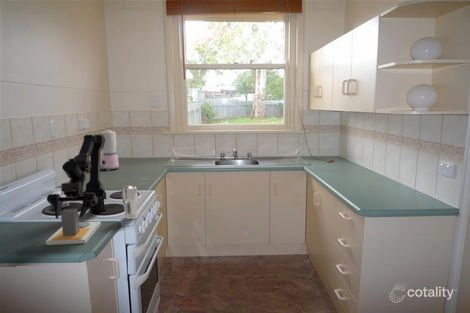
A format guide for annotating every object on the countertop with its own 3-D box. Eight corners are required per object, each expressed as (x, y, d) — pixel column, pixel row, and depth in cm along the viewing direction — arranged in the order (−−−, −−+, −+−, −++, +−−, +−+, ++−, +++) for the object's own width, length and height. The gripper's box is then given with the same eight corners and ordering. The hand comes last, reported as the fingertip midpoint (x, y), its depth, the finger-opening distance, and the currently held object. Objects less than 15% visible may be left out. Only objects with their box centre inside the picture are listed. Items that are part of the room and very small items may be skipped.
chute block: (67, 232, 138) (64, 208, 136) (79, 231, 139) (77, 208, 137) (63, 235, 134) (60, 212, 133) (75, 235, 135) (73, 211, 133)
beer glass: (129, 214, 164) (127, 184, 162) (141, 215, 162) (139, 185, 160) (120, 219, 158) (118, 188, 155) (133, 220, 156) (131, 189, 153)
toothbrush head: (70, 189, 197) (68, 194, 174) (71, 200, 198) (69, 207, 175) (60, 190, 195) (57, 195, 172) (61, 201, 195) (58, 208, 173)
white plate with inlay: (66, 225, 150) (66, 222, 150) (101, 224, 151) (100, 220, 151) (46, 244, 130) (45, 240, 130) (85, 243, 131) (85, 238, 131)
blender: (113, 167, 282) (110, 129, 276) (122, 168, 275) (119, 130, 269) (96, 170, 269) (93, 131, 263) (105, 172, 262) (102, 131, 256)
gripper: (46, 175, 135) (35, 209, 126) (93, 173, 137) (86, 208, 128) (56, 188, 144) (47, 222, 136) (100, 187, 146) (94, 220, 137)
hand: (68, 218), depth 134 cm, fingers open, 9 cm apart
